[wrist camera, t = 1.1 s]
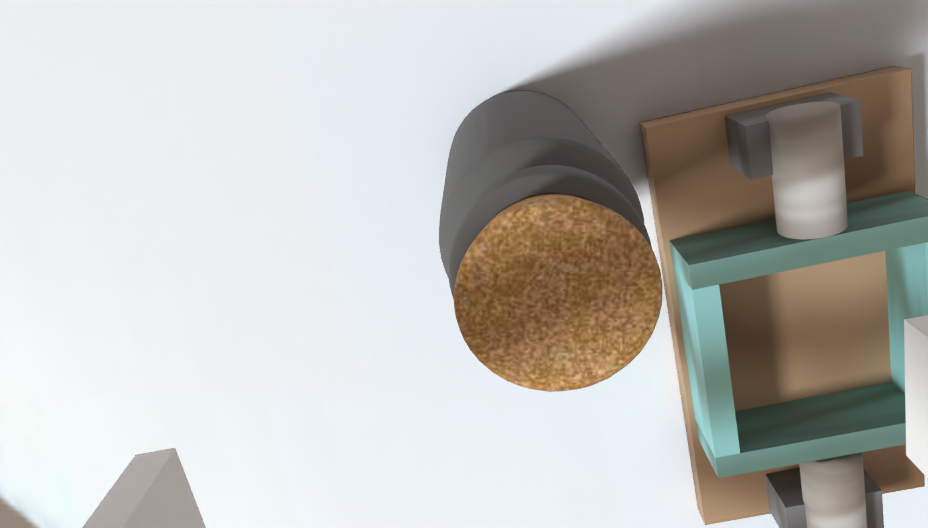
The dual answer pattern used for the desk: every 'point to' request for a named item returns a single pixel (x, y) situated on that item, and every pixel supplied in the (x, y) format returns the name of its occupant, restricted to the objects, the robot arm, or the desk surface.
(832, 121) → the block
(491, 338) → the bottle
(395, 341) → the desk surface
